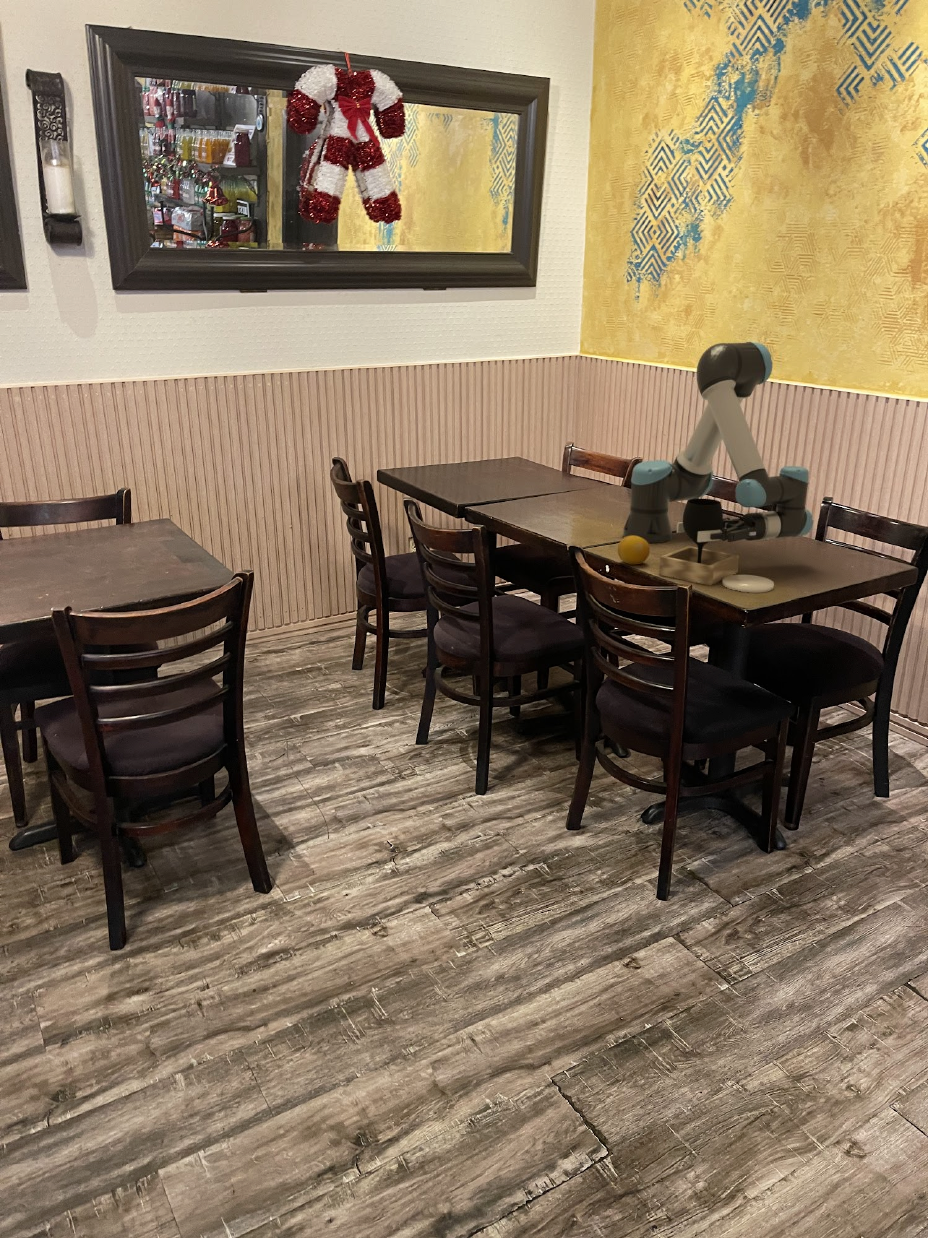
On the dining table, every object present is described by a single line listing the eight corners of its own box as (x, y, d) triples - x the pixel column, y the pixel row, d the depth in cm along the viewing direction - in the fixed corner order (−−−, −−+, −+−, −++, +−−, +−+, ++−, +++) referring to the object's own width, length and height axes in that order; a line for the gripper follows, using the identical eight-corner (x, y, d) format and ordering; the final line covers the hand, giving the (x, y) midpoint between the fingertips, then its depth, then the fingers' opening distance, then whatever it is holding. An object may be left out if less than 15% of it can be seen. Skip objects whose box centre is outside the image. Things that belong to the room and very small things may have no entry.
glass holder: (658, 574, 259) (660, 556, 257) (687, 563, 270) (688, 545, 268) (710, 585, 249) (711, 567, 248) (737, 573, 260) (739, 555, 258)
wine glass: (716, 580, 253) (722, 507, 247) (676, 577, 256) (681, 504, 250) (719, 570, 263) (725, 499, 256) (681, 567, 266) (686, 496, 259)
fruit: (632, 558, 275) (634, 531, 272) (654, 564, 269) (655, 536, 266) (611, 563, 270) (613, 535, 267) (632, 569, 264) (634, 541, 261)
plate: (713, 585, 249) (713, 582, 249) (736, 575, 258) (736, 571, 258) (759, 596, 241) (760, 592, 240) (782, 584, 250) (782, 581, 250)
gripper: (782, 549, 252) (709, 556, 245) (734, 530, 272) (665, 536, 266) (785, 521, 250) (711, 528, 243) (737, 504, 270) (667, 509, 263)
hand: (687, 532), depth 254 cm, fingers closed on wine glass, 10 cm apart
